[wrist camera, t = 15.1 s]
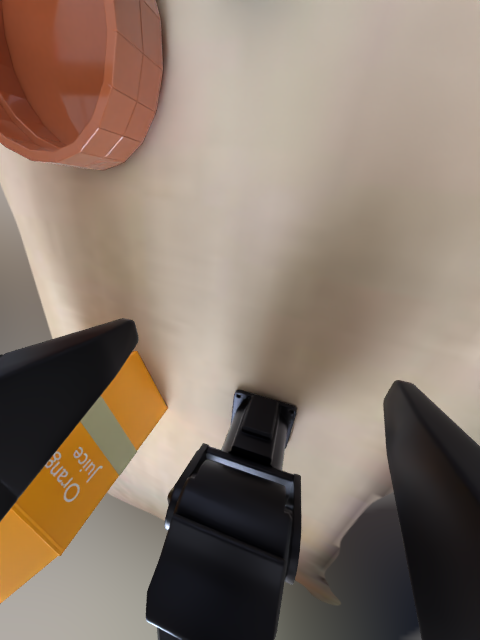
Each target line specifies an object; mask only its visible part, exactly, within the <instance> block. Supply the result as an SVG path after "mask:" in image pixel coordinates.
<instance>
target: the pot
mask: <svg viewBox="0 0 480 640" xmlns="http://www.w3.org/2000/svg"><path fill="white" fill-rule="evenodd" d="M162 70H163V56H162V34H161V19H160V15H159V10H158V6H157V2H156V0H0V143H1V144H3V145H4V146H5V147H7V148H8V149H10V150H12V151H14V152H16V153H18V154H20V155H22V156H24V157H26V158H28V159H29V160H32V161H37V162H43V163H50V164H57V165H63V166H70V167H77V168H84V169H95V170H106V169H109V168H111V167H114V166H116V165H119V164H121V163H124V162H125V161H126V160H127V159H128V158H129V157H130V156H131V155H132V154H133V153H134V152H135V151H136V149H137V148H138V147H139V146H140V145H141V144H142V142H143V141H144V139H145V137H146V134H147V132H148V130H149V127H150V125H151V123H152V121H153V118H154V116H155V114H156V111H157V105H158V99H159V93H160V86H161V80H162V74H163V71H162Z"/></svg>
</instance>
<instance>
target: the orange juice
mask: <svg viewBox="0 0 480 640" xmlns="http://www.w3.org/2000/svg"><path fill="white" fill-rule="evenodd" d="M167 409H168V408H167V406H166V404H165V402H164V400H163V398H162V397H161V395H160V393H159V391H158V389H157V387H156V385H155V384H154V382H153V380H152V378H151V376H150V374H149V372H148V370H147V369H146V367H145V365H144V363H143V361H142V359H141V357H140V355H139V354H138V352H137V351H133V352H132V353H131V354H130V356H129V357H128V359H127V360H126V362H125V363H124V365H123V366H122V368H121V369H120V371H119V372H118V374H117V375H116V377H115V378H114V379H113V381H112V382H111V383H110V384H109V386H108V387H107V388H106V390H105V391H104V392H103V393H102V395H101V396H100V397H99V398H98V400H97V401H96V402H95V403H94V405H93V406H92V407H91V408H90V410H89V411H88V412H87V413H86V415H85V416H84V417H83V418H82V420H81V421H80V422H79V423H78V425H77V426H76V427H75V428H74V430H73V431H72V432H71V433H70V435H69V436H68V437H67V438H66V440H65V441H64V442H63V443H62V445H61V446H60V447H59V448H58V450H57V451H56V452H55V454H54V455H53V456H52V457H51V459H50V460H49V461H48V462H47V464H46V465H45V466H44V467H43V469H42V470H41V471H40V472H39V474H38V475H37V476H36V477H35V479H34V480H33V481H32V482H31V484H30V485H29V486H28V487H27V489H26V490H25V491H24V492H23V494H22V495H21V496H20V497H19V498H18V500H17V501H16V503H15V504H14V505H13V507H12V508H11V509H10V510H9V512H8V513H7V514H6V515H5V517H4V518H3V519H2V520H1V522H0V604H1V603H2V602H3V601H4V600H5V599H7V598H8V597H9V596H10V595H11V594H12V593H14V592H15V591H16V590H17V589H19V588H20V587H21V586H22V585H23V584H25V583H26V582H27V581H28V580H30V579H31V578H32V577H33V576H34V575H35V574H37V573H38V572H39V571H40V570H41V569H43V568H44V567H45V566H46V565H48V564H49V563H50V562H51V561H52V560H54V559H55V558H56V557H57V556H61V555H62V553H63V552H64V550H65V549H66V548H67V546H68V545H69V544H70V542H71V541H72V539H73V538H74V537H75V535H76V534H77V532H78V531H79V530H80V528H81V527H82V526H83V524H84V523H85V521H86V520H87V519H88V517H89V516H90V515H91V513H92V512H93V511H94V509H95V508H96V506H97V505H98V503H99V502H100V501H101V500H102V498H103V497H104V495H105V494H106V493H107V491H108V490H109V489H110V487H111V486H112V484H113V483H114V482H115V480H116V479H117V478H118V476H120V474H121V473H122V472H123V470H124V469H125V468H126V466H127V465H128V463H129V462H130V461H131V459H132V458H133V457H134V455H135V454H136V452H137V450H138V449H139V447H140V446H141V445H142V443H143V442H144V441H145V439H146V438H147V436H148V435H149V434H150V432H151V431H152V430H153V428H154V427H155V425H156V424H157V423H158V421H159V420H160V419H161V417H162V416H163V414H164V413H165V412H166V410H167Z"/></svg>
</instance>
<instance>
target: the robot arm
mask: <svg viewBox="0 0 480 640" xmlns="http://www.w3.org/2000/svg"><path fill="white" fill-rule="evenodd" d="M137 343H138V333H137V329H136V325H135V322H134V321H133V320H129V319H125V318H122V319H118V320H115V321H112V322H108V323H105V324H102V325H98V326H95V327H92V328H88V329H85V330H82V331H78V332H75V333H72V334H68V335H65V336H62V337H58V338H55V339H52V340H49V341H45V342H42V343H39V344H35V345H32V346H28V347H25V348H22V349H18V350H15V351H12V352H8V353H5V354H4V355H0V522H1V520H2V519H3V518H4V517H5V515H6V514H7V513H8V512H9V510H10V509H11V508H12V507H13V505H14V504H15V503H16V501H17V500H18V498H19V497H20V496H21V495H22V494H23V492H24V491H25V490H26V489H27V487H28V486H29V485H30V484H31V482H32V481H33V480H34V479H35V477H36V476H37V475H38V474H39V472H40V471H41V470H42V469H43V467H44V466H45V465H46V464H47V462H48V461H49V460H50V459H51V457H52V456H53V455H54V454H55V452H56V451H57V450H58V448H59V447H60V446H61V445H62V443H63V442H64V441H65V440H66V438H67V437H68V436H69V435H70V433H71V432H72V431H73V430H74V428H75V427H76V426H77V425H78V423H79V422H80V421H81V420H82V418H83V417H84V416H85V415H86V413H87V412H88V411H89V410H90V408H91V407H92V406H93V405H94V403H95V402H96V401H97V400H98V398H99V397H100V396H101V395H102V393H103V392H104V391H105V390H106V388H107V387H108V386H109V384H110V383H111V382H112V381H113V379H114V378H115V377H116V375H117V374H118V372H119V371H120V369H121V368H122V366H123V365H124V363H125V362H126V360H127V359H128V357H129V356H130V354H131V353H132V351H133V349H134V348H135V346H136V345H137ZM238 394H239V395H238ZM383 407H384V421H385V436H386V449H387V457H388V464H389V469H390V474H391V480H392V485H393V490H394V495H395V501H396V506H397V511H398V517H399V522H400V527H401V532H402V537H403V543H404V548H405V553H406V559H407V564H408V569H409V575H410V580H411V585H412V590H413V595H414V601H415V606H416V612H417V617H418V622H419V627H420V633H421V638H422V640H480V446H479V445H478V444H477V443H476V442H475V441H474V440H472V439H471V438H470V437H469V436H468V435H467V434H466V433H465V432H464V431H463V430H462V429H461V428H460V427H459V426H458V425H456V424H455V423H454V422H453V421H452V420H451V419H450V418H449V417H448V416H447V415H446V414H445V413H444V412H443V411H442V410H441V409H439V408H438V407H437V406H436V405H435V404H434V403H433V402H432V401H431V400H430V399H429V398H428V397H427V396H426V395H425V394H423V393H422V392H421V391H420V390H419V389H418V388H417V387H416V386H415V385H414V384H412V383H410V382H405V381H401V380H396V381H395V382H394V383H393V384H392V386H391V388H390V389H389V391H388V393H387V395H386V396H385V398H384V403H383ZM296 411H297V408H296V407H295V406H294V405H291V404H287V403H284V402H280V401H277V400H273V399H270V398H266V397H263V396H259V395H256V394H252V393H249V392H245V391H242V390H236V392H235V394H234V401H233V410H232V419H231V426H230V429H229V431H228V434H227V437H226V439H225V442H224V444H223V447H222V449H221V450H219V449H216V448H213V447H210V446H209V445H207V444H204V443H203V444H202V446H201V447H200V449H199V450H198V451H197V452H196V453H195V455H194V456H193V458H192V460H191V461H190V463H189V464H188V466H187V467H186V469H185V470H184V472H183V473H182V475H181V476H180V478H179V480H178V481H177V483H176V484H175V486H174V487H173V488H172V489H171V491H170V492H169V494H168V498H167V499H168V504H169V506H168V510H167V514H166V518H165V529H166V530H168V533H167V536H166V539H165V542H164V546H163V549H162V552H161V556H160V559H159V561H158V564H157V567H156V569H155V572H154V575H153V577H152V580H151V583H150V585H149V588H148V591H147V603H146V620H147V622H149V623H151V624H153V625H155V626H156V627H157V633H158V640H274V639H275V637H276V633H277V626H278V620H279V614H280V607H281V600H282V594H283V587H284V582H287V583H289V584H291V585H292V584H293V583H294V580H295V576H296V572H297V566H298V560H299V552H300V541H301V476H300V475H297V474H294V475H293V474H290V473H287V472H285V471H282V466H283V459H284V451H285V449H286V447H287V443H288V440H289V436H290V433H291V430H292V426H293V423H294V419H295V416H296Z"/></svg>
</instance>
